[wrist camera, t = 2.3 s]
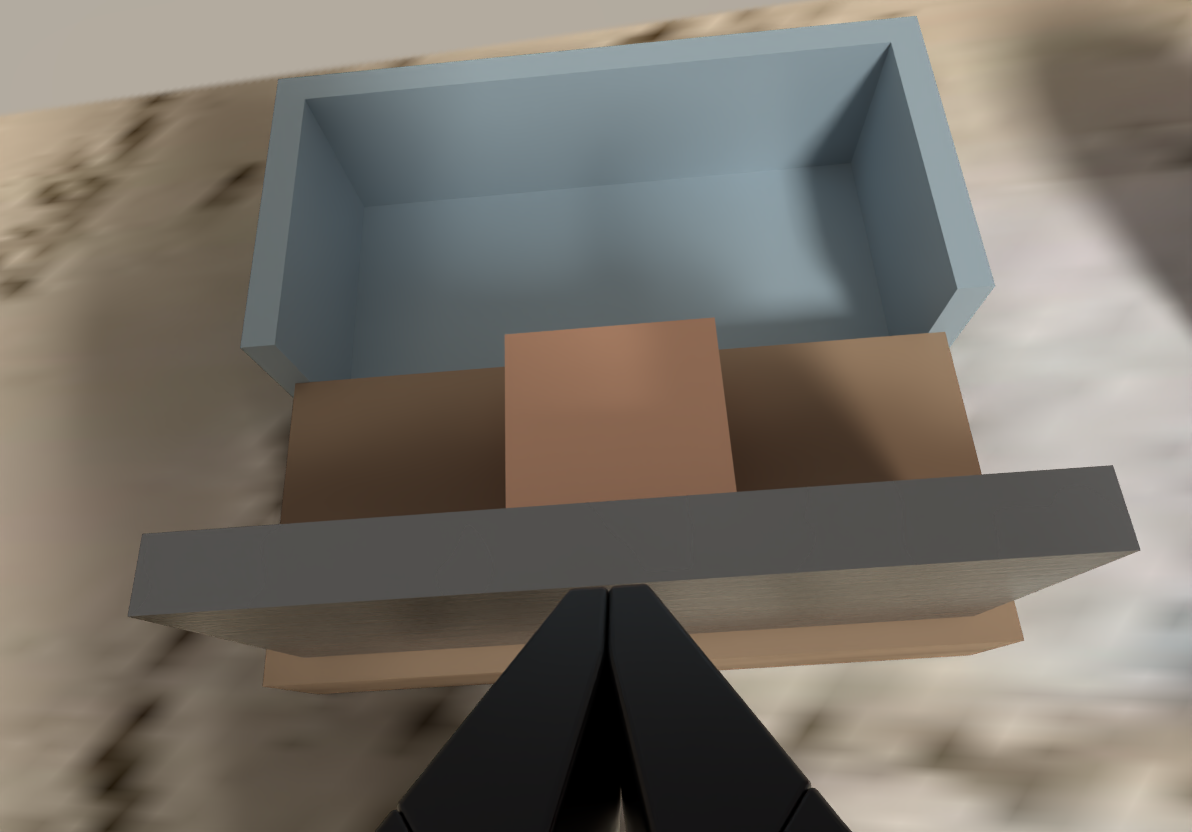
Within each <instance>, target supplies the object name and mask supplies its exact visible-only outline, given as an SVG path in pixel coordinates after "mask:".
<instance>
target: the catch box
mask: <svg viewBox="0 0 1192 832" xmlns="http://www.w3.org/2000/svg"><path fill="white" fill-rule="evenodd" d="M994 287H995V284H994V280H993V277H992V273H991V270H990V266H989V263H988V259H987V256H986V253H985V249H984V246H983V242H982V239H981V235H980V232H979V229H978V225H977V222H976V218H975V215H974V211H973V208H972V205H971V201H970V198H969V194H968V191H967V187H966V184H965V181H964V177H963V174H962V170H961V167H960V163H959V160H958V157H957V153H956V150H955V146H954V143H953V139H952V136H951V133H950V129H949V126H948V122H947V119H946V115H945V112H944V109H943V105H942V102H941V98H940V95H939V91H938V88H937V85H936V81H935V78H934V74H933V71H932V67H931V64H930V61H929V57H928V54H927V50H926V47H925V43H924V40H923V36H922V33H921V30H920V26H919V23H918V19H917V16H912V17H901V18H891V19H881V20H871V21H861V22H851V23H841V24H831V25H821V26H810V27H800V28H790V29H780V30H770V31H760V32H750V33H740V34H730V35H720V36H709V37H699V38H689V39H679V40H669V41H659V42H649V43H639V44H629V45H619V46H608V47H598V48H588V49H578V50H568V51H558V52H548V53H538V54H528V55H517V56H507V57H497V58H487V59H477V60H467V61H457V62H447V63H437V64H427V65H416V66H406V67H396V68H386V69H376V70H366V71H356V72H346V73H336V74H325V75H315V76H305V77H295V78H285V79H278V85H277V92H276V99H275V106H274V113H273V120H272V127H271V134H270V141H269V148H268V155H267V163H266V170H265V177H264V184H263V191H262V198H261V205H260V212H259V219H258V226H257V233H256V240H255V247H254V254H253V261H252V268H251V276H250V283H249V290H248V297H247V304H246V311H245V318H244V325H243V332H242V339H241V346H240V348H241V349H242V350H243V351H244V352H245V353H246V354H247V355H249V356H250V357H251V358H252V359H253V360H254V361H255V362H256V363H257V364H258V365H259V366H260V367H261V368H262V369H263V370H265V371H266V372H267V373H268V374H269V375H270V376H271V377H272V378H273V379H274V380H275V381H276V382H277V383H278V384H279V385H280V386H282V387H283V388H284V389H285V390H286V391H287V392H288V393H289V394H290V395H291V396H292V397H293V398H294V391H295V383H308V382H318V381H331V380H344V379H356V378H369V377H381V376H394V375H406V374H419V373H431V372H444V371H457V370H469V369H482V368H494V367H505V334H517V333H529V332H541V331H554V330H566V329H578V328H590V327H603V326H615V325H627V324H639V323H652V322H664V321H676V320H688V319H701V318H713V317H715V324H716V332H717V340H718V348H719V350H721V349H733V348H746V347H758V346H771V345H783V344H796V343H809V342H821V341H834V340H846V339H859V338H871V337H884V336H896V335H909V334H922V333H936V332H945V333H946V337H947V341H948V345H949V347H950V346H951V345H952V343H953V342H954V341H955V339H956V338H957V337H958V335H959V334H960V333H961V331H962V330H963V329H964V327H965V326H966V324H967V323H968V322H969V320H970V319H971V318H972V316H973V315H974V314H975V312H976V311H977V310H978V308H979V307H980V306H981V304H982V303H983V301H984V300H985V299H986V297H987V296H988V295H989V293H990V292H991V291H992V289H993V288H994Z"/></svg>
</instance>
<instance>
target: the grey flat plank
mask: <svg viewBox="0 0 1192 832" xmlns="http://www.w3.org/2000/svg"><path fill="white" fill-rule="evenodd" d="M1137 551H1140V547H1139V544H1138V541H1137V538H1136V535H1135V532H1134V529H1133V525H1132V522H1131V519H1130V516H1129V513H1128V510H1127V507H1126V504H1125V501H1124V498H1123V495H1122V492H1121V489H1120V486H1119V483H1118V479H1117V476H1116V473H1115V470H1114V467H1113V465H1111V466H1097V467H1083V468H1068V469H1054V470H1040V471H1026V472H1012V473H998V474H984V475H969V476H955V477H941V478H927V479H913V480H899V481H884V482H870V483H856V484H842V485H828V486H814V487H800V488H785V489H771V490H757V491H743V492H729V493H715V494H701V495H686V496H672V497H658V498H644V499H630V500H616V501H602V502H587V503H573V504H559V505H545V506H531V507H517V508H503V509H488V510H474V511H460V512H446V513H432V514H418V515H404V516H389V517H375V518H361V519H347V520H333V521H319V522H305V523H290V524H276V525H262V526H248V527H234V528H220V529H206V530H191V531H177V532H163V533H149V534H142V539H141V544H140V550H139V556H138V561H137V567H136V572H135V578H134V584H133V589H132V595H131V600H130V606H129V612H128V617H132V618H136V619H140V620H145V621H149V622H153V623H157V624H162V625H166V626H170V627H174V628H179V629H183V630H187V631H192V632H196V633H200V634H204V635H209V636H213V637H217V638H221V639H226V640H230V641H234V642H238V643H243V644H247V645H251V646H256V647H260V648H264V649H268V650H273V651H277V652H281V653H285V654H290V655H294V656H298V657H302V658H310V657H326V656H342V655H358V654H374V653H391V652H407V651H423V650H439V649H455V648H471V647H487V646H503V645H519V644H526V643H527V642H528V641H529V639H530V638H531V637H532V636H533V634H534V633H535V632H536V631H537V630H538V628H539V627H540V626H541V625H542V623H543V622H544V621H545V620H546V618H547V617H548V616H549V615H550V613H551V612H552V611H553V610H554V608H555V607H556V606H557V605H558V603H559V602H560V601H561V600H562V598H563V597H564V596H565V595H566V593H567V592H568V591H569V590H571V589H574V588H587V587H605V588H607V589H608V591H610V589H611V588H612V587H613V586H617V585H631V584H646V585H648V586H649V587H650V588H651V589H652V590H653V591H654V592H655V594H656V595H657V596H658V597H659V598H660V600H661V601H662V602H663V603H664V605H665V606H666V607H667V608H668V609H669V611H670V612H671V613H672V614H673V615H674V617H675V618H676V619H677V620H678V622H679V623H680V624H681V625H682V626H683V628H684V629H685V630H686V631H687V633H688V634H696V633H713V632H729V631H745V630H761V629H777V628H793V627H809V626H825V625H841V624H857V623H873V622H890V621H906V620H922V619H938V618H954V617H970V616H976V615H978V614H981V613H983V612H986V611H988V610H991V609H993V608H996V607H998V606H1001V605H1003V604H1006V603H1008V602H1011V601H1014V600H1016V599H1019V598H1021V597H1024V596H1026V595H1029V594H1031V593H1034V592H1036V591H1039V590H1041V589H1044V588H1046V587H1049V586H1051V585H1054V584H1056V583H1059V582H1062V581H1064V580H1067V579H1069V578H1072V577H1074V576H1077V575H1079V574H1082V573H1084V572H1087V571H1089V570H1092V569H1094V568H1097V567H1099V566H1102V565H1104V564H1107V563H1109V562H1112V561H1115V560H1117V559H1120V558H1122V557H1125V556H1127V555H1130V554H1132V553H1135V552H1137Z"/></svg>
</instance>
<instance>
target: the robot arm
mask: <svg viewBox="0 0 1192 832" xmlns="http://www.w3.org/2000/svg"><path fill="white" fill-rule="evenodd" d="M621 793H622V803H623V811H624V819H625V826H626V832H852V831H851V830H850V829H849V828H848V827H847V826H846V824H845V823H844V822H843V821H842V820H841V818H840V817H839V816H838V815H837V814H836V812H835V811H834V810H833V809H832V807H831V806H830V805H829V804H828V802H827V801H826V800H825V799H824V798H823V796H822V795H821V794H820V793H819V791H818V790H817V789H815V788H811V783H810V781H809V780H808V779H807V777H806V776H805V775H804V774H803V773H802V771H801V770H800V769H799V768H798V766H797V765H796V764H795V763H794V762H793V760H792V759H791V758H790V757H789V756H788V754H787V753H786V752H785V751H784V749H783V748H782V747H781V746H780V745H779V743H778V742H777V741H776V740H775V738H774V737H773V736H772V735H771V734H770V732H769V731H768V730H767V729H766V727H765V726H764V725H763V724H762V723H761V721H760V720H759V719H758V718H757V717H756V715H755V714H754V713H753V712H752V710H751V709H750V708H749V707H748V706H747V704H746V703H745V702H744V701H743V699H742V698H741V697H740V696H739V695H738V693H737V692H736V691H735V690H734V689H733V687H732V686H731V685H730V684H729V682H728V681H727V680H726V679H725V678H724V676H723V675H722V674H721V673H720V671H719V670H718V669H717V668H716V667H715V665H714V664H713V663H712V662H711V661H710V659H709V658H708V657H707V656H706V654H705V653H704V652H703V651H702V650H701V648H700V647H699V646H698V645H697V643H696V642H695V641H694V640H693V639H692V637H691V636H690V635H689V634H688V633H687V631H686V630H685V629H684V628H683V626H682V625H681V624H680V623H679V622H678V620H677V619H676V618H675V617H674V615H673V614H672V613H671V612H670V611H669V609H668V608H667V607H666V606H665V605H664V603H663V602H662V601H661V600H660V598H659V597H658V596H657V595H656V594H655V592H654V591H653V590H652V589H651V588H650V587H649V586H648V585H646V584H631V585H617V586H613V587H612V588H611V589H610V591H608V589H607V588H605V587H587V588H574V589H571V590H569V591H568V592H567V593H566V595H565V596H564V597H563V598H562V600H561V601H560V602H559V603H558V605H557V606H556V607H555V608H554V610H553V611H552V612H551V613H550V615H549V616H548V617H547V618H546V620H545V621H544V622H543V623H542V625H541V626H540V627H539V628H538V630H537V631H536V632H535V633H534V634H533V636H532V637H531V638H530V639H529V641H528V642H527V643H526V644H525V646H524V647H523V648H522V649H521V651H520V652H519V653H518V654H517V656H516V657H515V658H514V659H513V661H512V662H511V663H510V664H509V666H508V667H507V668H506V669H505V671H504V672H503V673H502V674H501V676H500V677H499V678H498V679H497V681H496V682H495V683H494V684H493V686H492V687H491V688H490V689H489V691H488V692H487V693H486V694H485V696H484V697H483V698H482V699H481V701H480V702H479V703H478V704H477V706H476V707H475V708H474V709H473V710H472V712H471V713H470V714H469V715H468V717H467V718H466V719H465V720H464V722H463V723H462V724H461V725H460V727H459V728H458V729H457V730H456V732H455V733H454V734H453V735H452V737H451V738H450V739H449V740H448V742H447V743H446V744H445V745H444V747H443V748H442V749H441V750H440V752H439V753H438V754H437V755H436V757H435V758H434V759H433V760H432V762H431V763H430V764H429V765H428V767H427V768H426V769H425V770H424V772H423V773H422V774H421V775H420V777H419V778H418V779H417V780H416V782H415V783H414V784H413V785H412V787H411V788H410V789H409V790H408V791H407V793H406V794H405V795H404V796H403V798H402V799H401V800H400V801H399V803H398V805H397V810H393V811H391V812H390V813H389V815H388V816H387V817H386V818H385V820H384V821H383V822H382V823H381V825H380V826H379V827H378V828H377V830H376V831H375V832H620V818H621Z"/></svg>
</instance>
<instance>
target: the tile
mask: <svg viewBox="0 0 1192 832" xmlns="http://www.w3.org/2000/svg"><path fill="white" fill-rule="evenodd" d="M505 471H506V508H517V507H531V506H545V505H559V504H573V503H587V502H602V501H616V500H630V499H644V498H658V497H672V496H686V495H701V494H715V493H729V492H737V491H736V483H735V475H734V467H733V459H732V451H731V443H730V435H729V427H728V419H727V411H726V404H725V396H724V388H723V380H722V372H721V364H720V356H719V348H718V340H717V332H716V324H715V317H713V318H701V319H688V320H676V321H664V322H652V323H639V324H627V325H615V326H603V327H590V328H578V329H566V330H554V331H541V332H529V333H517V334H505Z"/></svg>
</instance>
